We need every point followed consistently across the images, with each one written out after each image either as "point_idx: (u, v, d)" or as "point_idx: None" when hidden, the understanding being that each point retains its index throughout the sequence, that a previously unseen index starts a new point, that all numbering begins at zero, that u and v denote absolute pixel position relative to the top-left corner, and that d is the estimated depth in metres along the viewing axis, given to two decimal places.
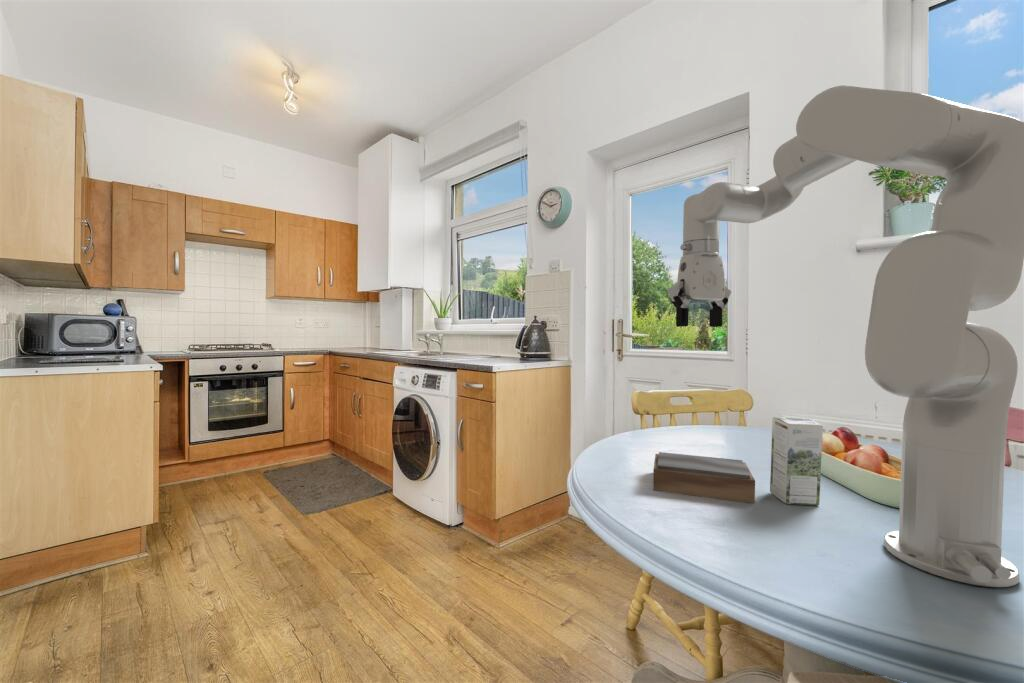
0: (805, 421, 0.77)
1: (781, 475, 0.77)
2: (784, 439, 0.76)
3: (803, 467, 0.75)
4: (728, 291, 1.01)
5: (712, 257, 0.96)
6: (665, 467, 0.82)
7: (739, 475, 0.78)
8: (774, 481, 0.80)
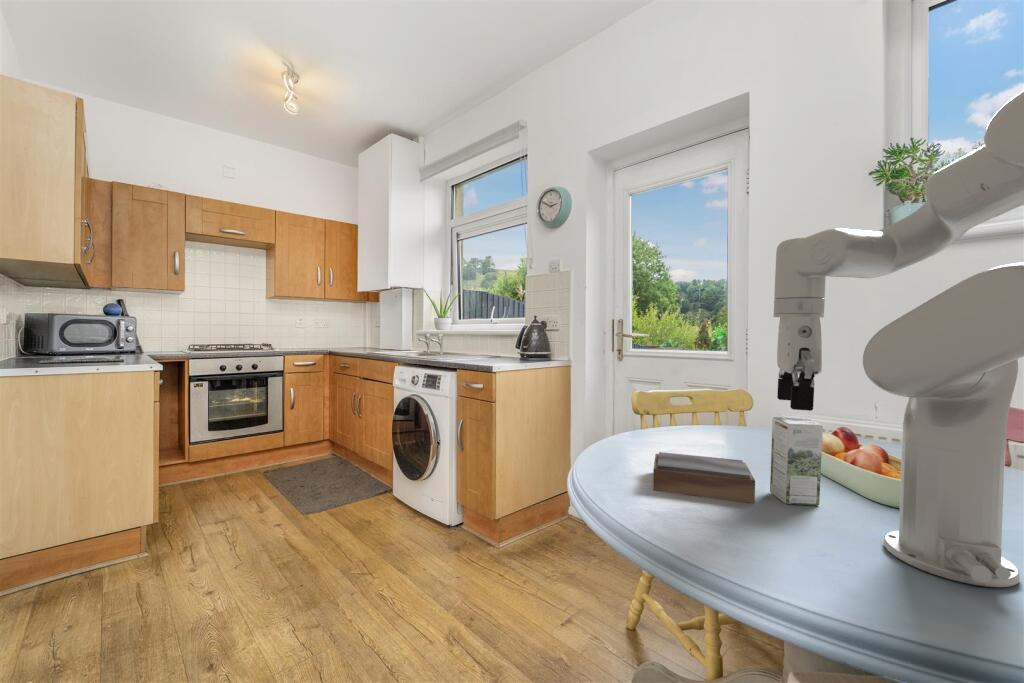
0: (805, 421, 0.77)
1: (781, 475, 0.77)
2: (784, 439, 0.76)
3: (803, 467, 0.75)
4: None
5: None
6: (665, 467, 0.82)
7: (739, 475, 0.78)
8: (774, 481, 0.80)
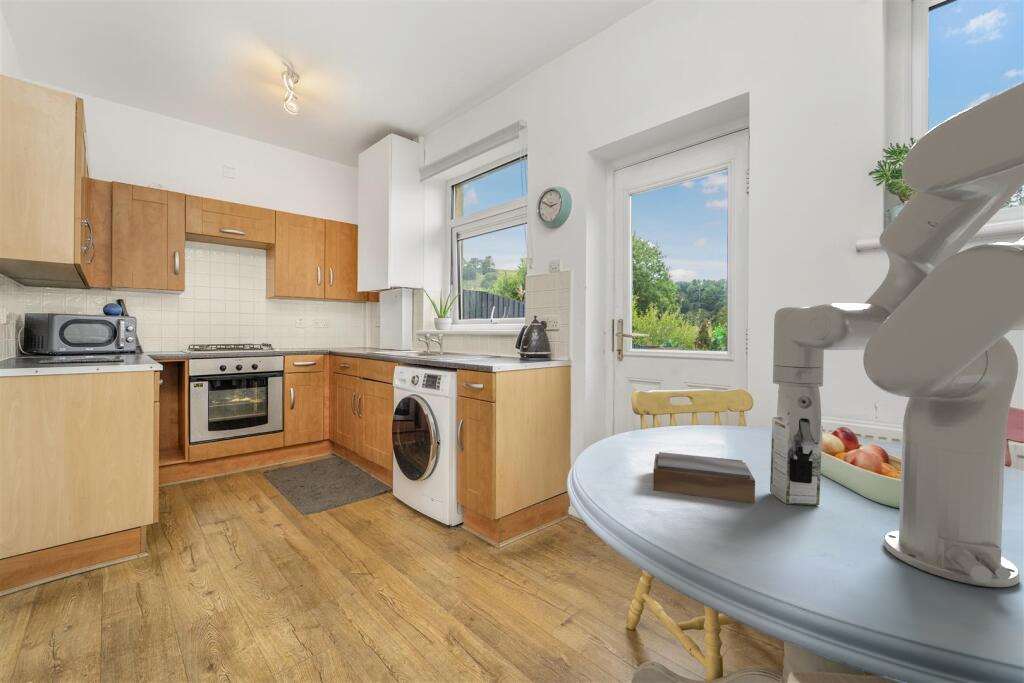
0: None
1: (781, 475, 0.77)
2: (784, 439, 0.76)
3: None
4: None
5: None
6: (665, 467, 0.82)
7: (739, 475, 0.78)
8: (774, 481, 0.80)
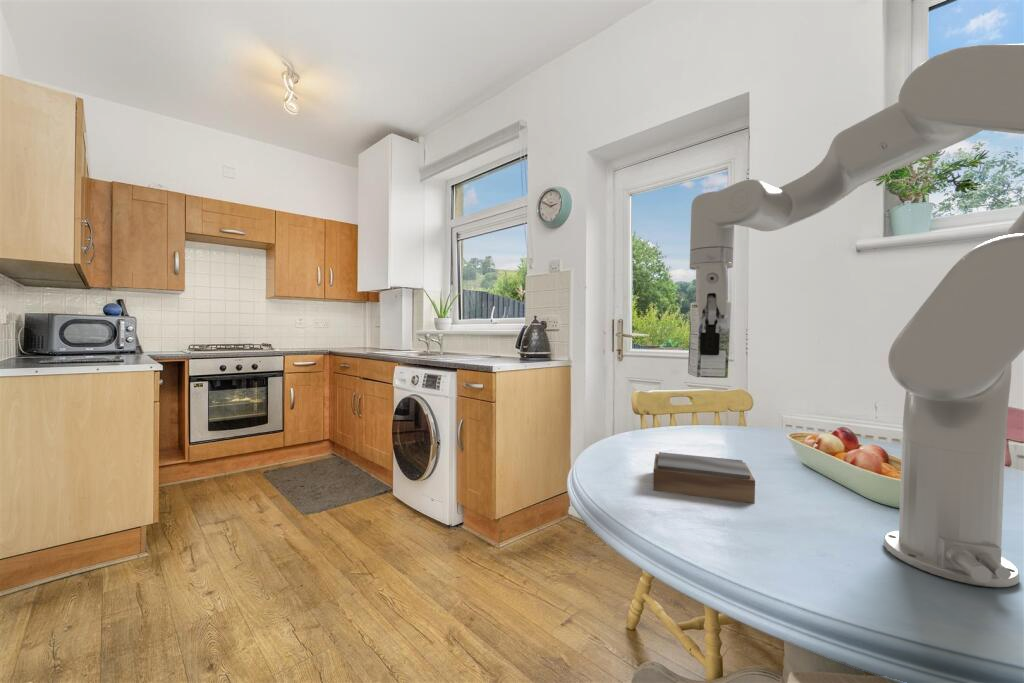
0: None
1: (694, 352, 0.82)
2: (696, 318, 0.82)
3: None
4: None
5: None
6: (665, 467, 0.82)
7: (739, 475, 0.78)
8: (690, 361, 0.85)
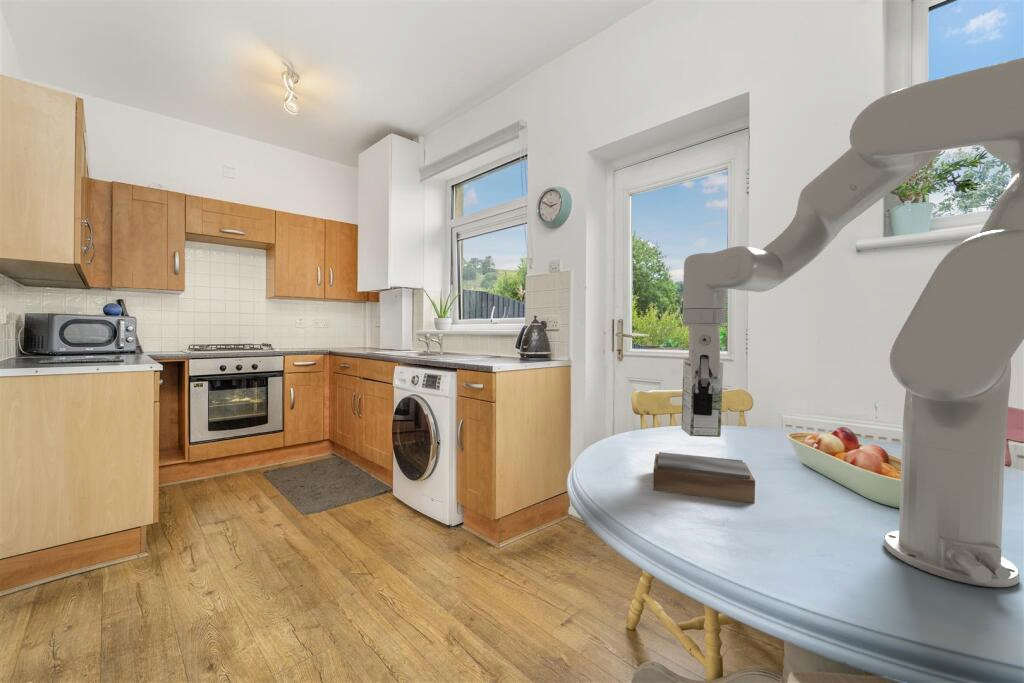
0: None
1: (688, 410, 0.83)
2: (689, 377, 0.82)
3: None
4: None
5: None
6: (665, 467, 0.82)
7: (739, 475, 0.78)
8: (684, 417, 0.86)
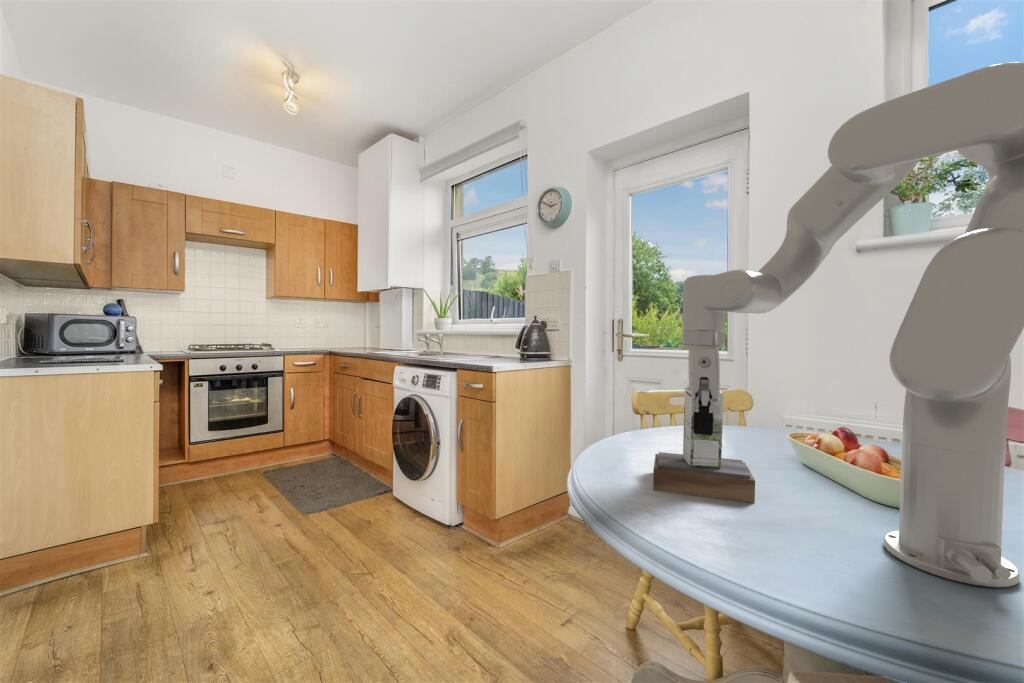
0: None
1: (688, 440, 0.83)
2: (689, 407, 0.82)
3: None
4: None
5: None
6: (665, 467, 0.82)
7: (739, 475, 0.78)
8: (685, 447, 0.85)
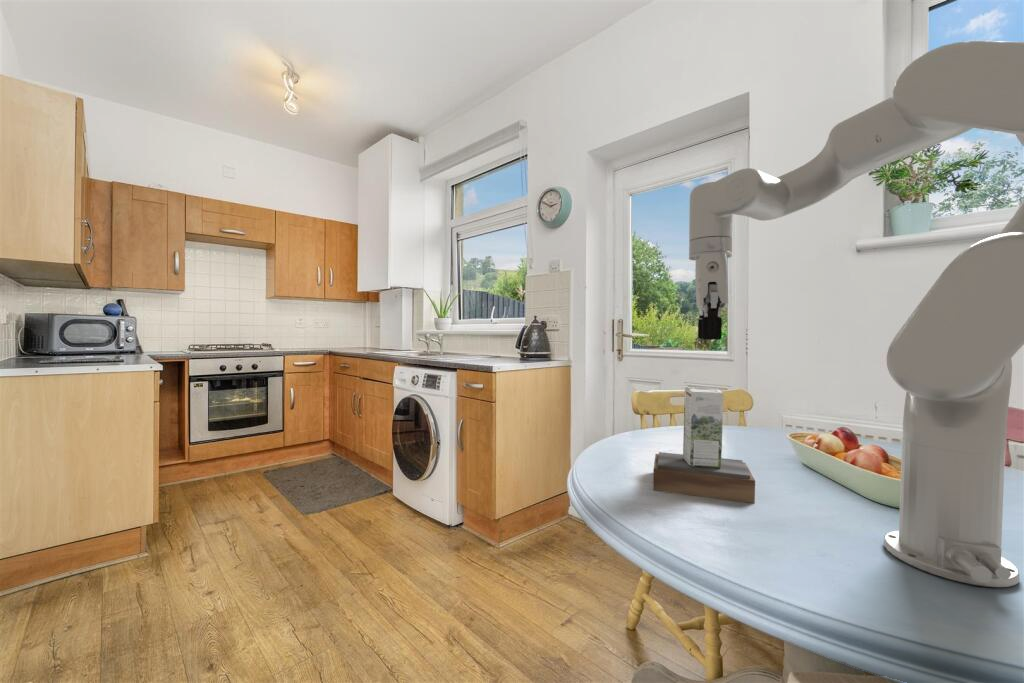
0: (709, 390, 0.82)
1: (688, 440, 0.83)
2: (689, 407, 0.82)
3: (705, 432, 0.81)
4: None
5: None
6: (665, 467, 0.82)
7: (739, 475, 0.78)
8: (685, 447, 0.85)
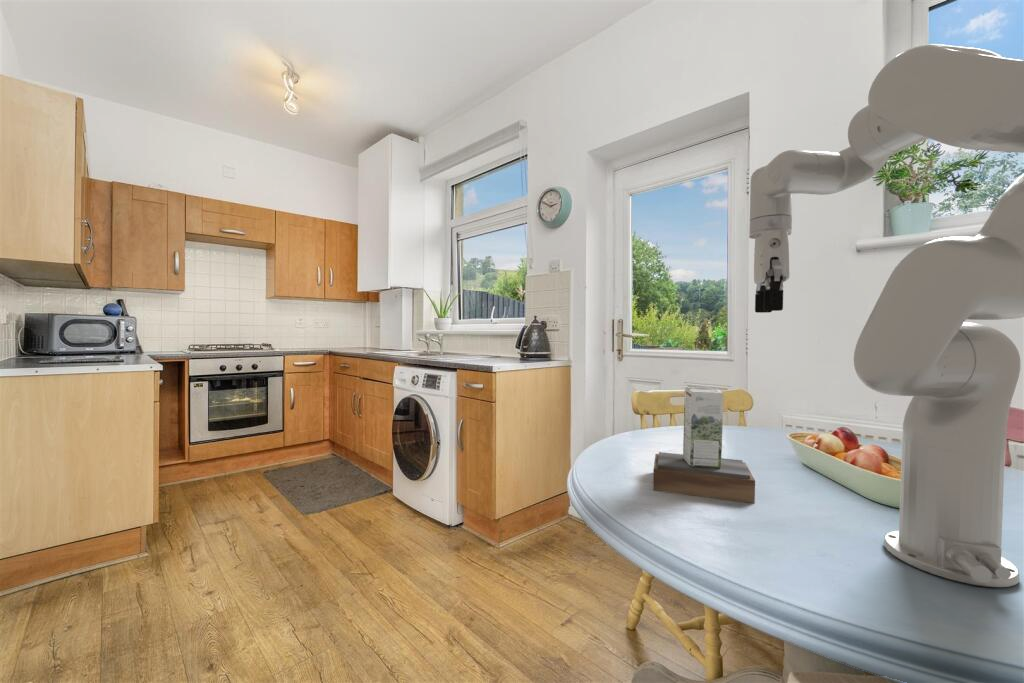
0: (709, 390, 0.82)
1: (688, 440, 0.83)
2: (689, 407, 0.82)
3: (705, 432, 0.81)
4: None
5: None
6: (665, 467, 0.82)
7: (739, 475, 0.78)
8: (685, 447, 0.85)
